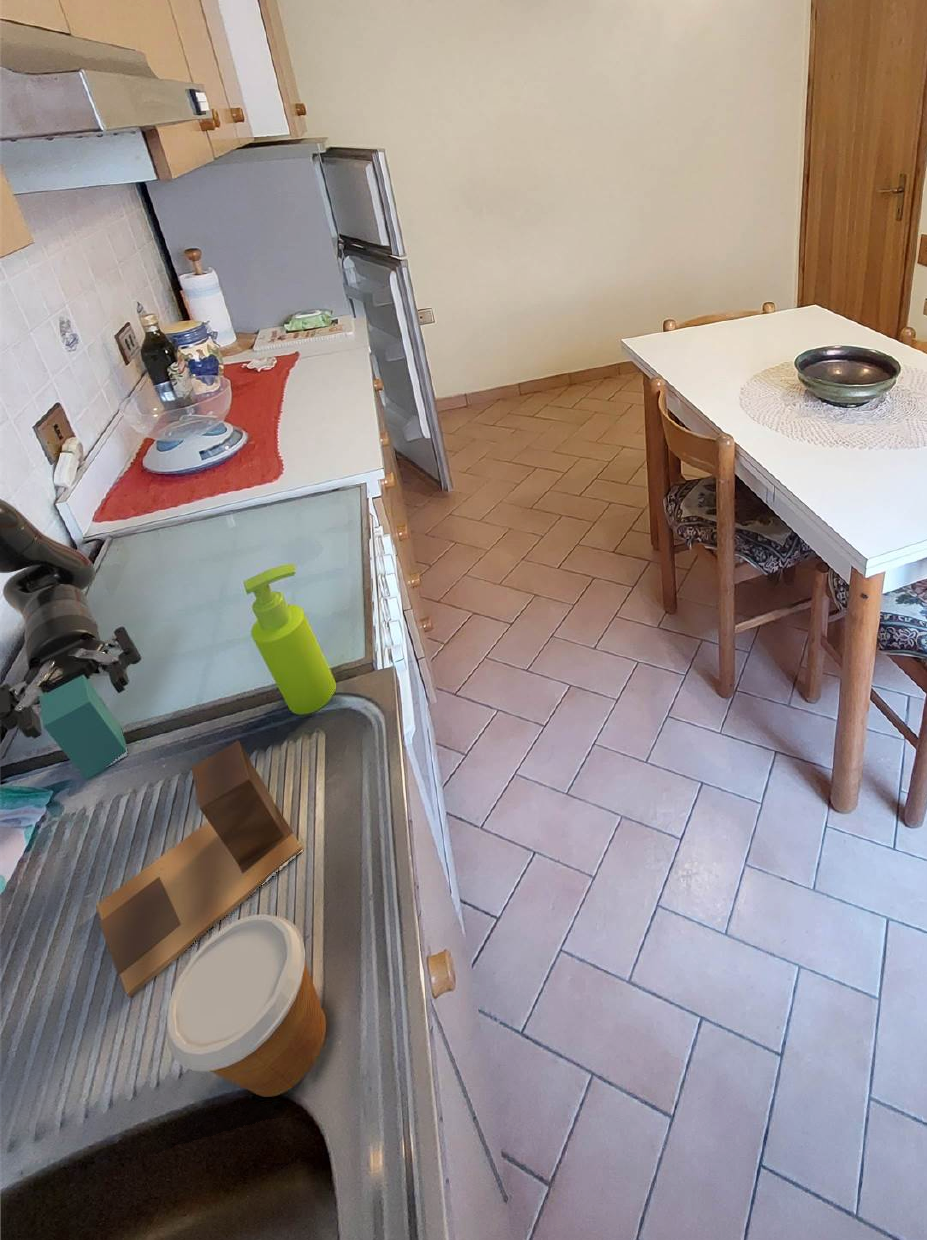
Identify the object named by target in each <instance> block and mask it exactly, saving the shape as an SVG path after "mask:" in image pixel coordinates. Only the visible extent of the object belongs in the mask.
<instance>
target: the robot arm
mask: <svg viewBox="0 0 927 1240" xmlns="http://www.w3.org/2000/svg"><path fill="white" fill-rule="evenodd" d="M14 572H16V573H15V574H13V575H12V576H10V577H9V578H8V579H7V581H6V582H5V583H4V585H3V589H2V594H3V597H4V599H5V601H6V602H7V603H8V605H9V606H10V607H11V608H12V609H13V610H15V611H16V612H18V614H20V615H21V616H22V617H23V622H24V628H25V629H24V637H23V638H24V645H25V654H26V659H27V661H26V662H27V666H28V675H27V676H26V678H25V680H24V681H22V682H19V683H17V684H16V685H13V686H11V685H10V684H9V683H4V684H2V685H0V723H1V724H2V725H3V726H4V728H5V729H6V730H7V731H10V730H13V729H15V728H16V727H17V726H18V729H19V730H20V732H21V733H22V735H23V736H24V737H25V738H27V739H29V738H30V737H32V738H33V739H34V740H35V739H37V738H39V737H41V736H43V732H42V724H41V719H40V715H41V707H40V701H39V697H41V696H43V695H45V694H47V693H48V692H50V691H52V690H54V689H56V688H58V687H60V686H62V685H64V684H66V683H68V682H70V681H72V680H74V679H76V678H78V677H79V676H81V675H84V676H85V677H86V678H87V680H89V679H90V677H91V676H92V677H93V676H94V677H103V678H104V677H107V676H108V677H109V680H110V683H111V685H112V687H113V688H114V690H115V691H116V692H117V694H120V693H122V692H124V691H126V688H125V686H127V685H129V682H130V679H129V676H128V673H127V670H128V669H127V668H128V667H129V666H130V665H136V664H138V663H140V662H141V660H142V656H141V654H140V651H139V650H138V648H137V645H136V644H135V642H134V641H133V639H132V637H131V635H130V634H129V632H128V631H127V629H126V628H125V626H119V627H118V628H116V629H115V630H114V631H113V634H114V636H112V637H109V638H108V639H106V640H104V641H103V640H101V638H100V634H99V630H98V629H99V626H98V623H97V621H96V620H95V616H94V615H93V613H92V611H91V610H90V607H89V604H88V600H87V597H86V595H85V593H84V591H83V590H85V589H87V588H88V587H90V585H91V584H92V583H93V582H94V580H95V577H96V570H95V566H94V563H93V562H92V560H90V558H89V557H87V555H85V554H84V553H82V552H81V551H79V550H76V549H75V548H72V547H70V546H68V545H66V544H63V543H61V542H59V541H57V540H55V539H53V538H51V537H49V536H47V535H46V534H45V533H43V532H41V531H40V529H38V528H37V527H36V526H35V525H34V524H33V523H32V522H31V521H30V520H29V519H28V518H27V517H26V516H24V514H23V513H22V512H21V511H19V510H18V509H17V508H16V507H15V506H13V504H10V503H9V502H7V501H5V500H3V499H1V498H0V574H11V573H14ZM112 649H114V650H116V651H117V650H119V651H120V652H121V653H120V654H110V653H109V652H110V651H109V650H112ZM32 704H33V706H31V705H32Z"/></svg>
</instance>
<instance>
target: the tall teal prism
mask: <svg viewBox="0 0 927 1240" xmlns="http://www.w3.org/2000/svg"><path fill="white" fill-rule="evenodd" d="M39 701H40V707H41V713H40V715H41V720H42V726H43V728H44V729H45V730H46V731H47V733H48V734H49V736H50V737H51V738H52V740H53V741H54V742H55V743H56V744H57V745H58V747H59V748H60V749H61V750H62V751H63V753H64V754H65V755H66V757H67V758H68V759H69V760H70V761H71V763H72V764H73V766H74V767H75V768H76V770H78V771H79V773H80V775H81V776H83V778H84V779H85V780H86V781H88V780H90V779H91V778H93V777H95V776H96V775H98V774H100V773H101V772H104V771H105V770H106V769H105V768H107V766H109V765H110V764H111V763H113V761H115V759H118V757H120V756H121V755H122V754H124V753H125V752H126V745H127V742H126V737H125V735H124V732H123V733H122V731H123V730H122V731H121V727H122V726H121V725H120V723H119V722H118V720H117V719H116V718H115V716H114V715H113V713H112V712H111V711H110V709H109V707H108V706H107V705H106V704H105V702H104V700H103V699H102V698H101V696H100V695H99V694H98V692H97V691H96V690H95V688H94V687H93V685H92V684H91V682H90V681H89V679H87V678H86V677H85V676H84V675H81V676H79V677H78V678H76V679H74V680H72V681H70V682H68V683H66V684H64V685H62V686H60V687H58V688H56V689H54V690H52V691H50V692H48V693H45V695H43V696H41V697H39ZM123 735H124V736H123ZM104 769H105V770H104ZM107 769H108V768H107Z"/></svg>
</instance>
